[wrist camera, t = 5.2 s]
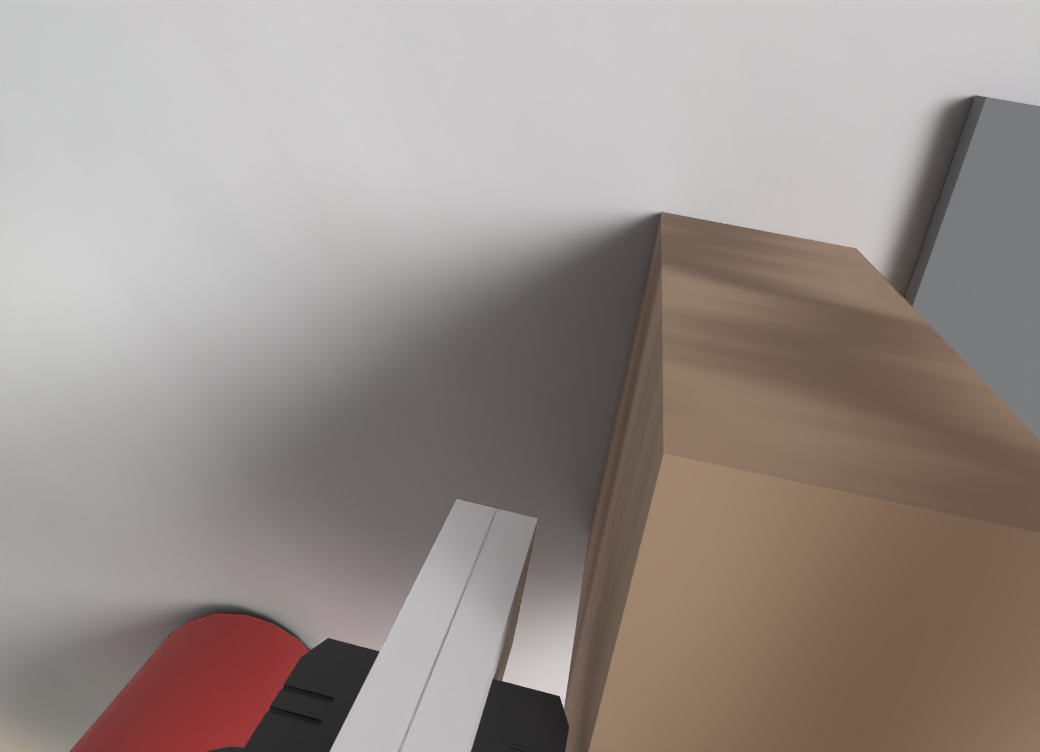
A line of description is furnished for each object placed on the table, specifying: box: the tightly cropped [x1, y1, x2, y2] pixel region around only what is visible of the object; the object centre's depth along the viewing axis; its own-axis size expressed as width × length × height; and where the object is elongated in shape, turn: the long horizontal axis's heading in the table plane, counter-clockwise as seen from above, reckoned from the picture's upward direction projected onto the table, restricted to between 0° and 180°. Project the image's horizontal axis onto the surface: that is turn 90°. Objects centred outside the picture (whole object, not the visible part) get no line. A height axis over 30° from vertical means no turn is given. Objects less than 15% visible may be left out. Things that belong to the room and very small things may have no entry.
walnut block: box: [564, 212, 1040, 752], centre depth 17 cm, size 5×10×14 cm, turn 171°
